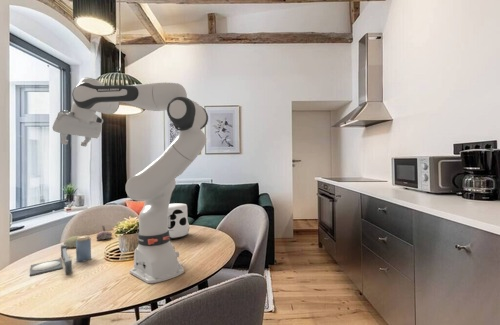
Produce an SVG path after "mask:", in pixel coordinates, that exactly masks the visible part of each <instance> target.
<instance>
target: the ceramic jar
mask: <svg viewBox="0 0 500 325" xmlns="http://www.w3.org/2000/svg"><path fill="white" fill-rule="evenodd" d="M79 236H80V237H77V240H76V247H75V257H76V259H75V260H76V262H77V263H78V262H80V263H81V262H86V261H90V260H91V259H92V246H91V245H92V242H91V240H92V239H91V236H90V235H79Z"/></svg>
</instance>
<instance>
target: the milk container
mask: <svg viewBox="0 0 500 325" xmlns="http://www.w3.org/2000/svg"><path fill="white" fill-rule="evenodd" d="M188 219H189V218H188V205H187V204H186V203H177V202H176V203H175V202H174V203H169V208H168V230H169V234H170V240H175V239H181V238H184V237H186V236H187V235H188V234H189V232H190V224H189V221H188Z"/></svg>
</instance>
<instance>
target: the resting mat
mask: <svg viewBox="0 0 500 325" xmlns="http://www.w3.org/2000/svg"><path fill="white" fill-rule="evenodd" d="M61 269H63V263H62V259H61V258H57V259H52V260H47V261H44V262H43V261H42V262H39V263H36V264H35V263H33V264H31V265H30V270H29V277H32V276H37V275H41V274H42V275H43V274H45V273H49V272H53V271H58V270H59V271H60V270H61Z"/></svg>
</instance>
